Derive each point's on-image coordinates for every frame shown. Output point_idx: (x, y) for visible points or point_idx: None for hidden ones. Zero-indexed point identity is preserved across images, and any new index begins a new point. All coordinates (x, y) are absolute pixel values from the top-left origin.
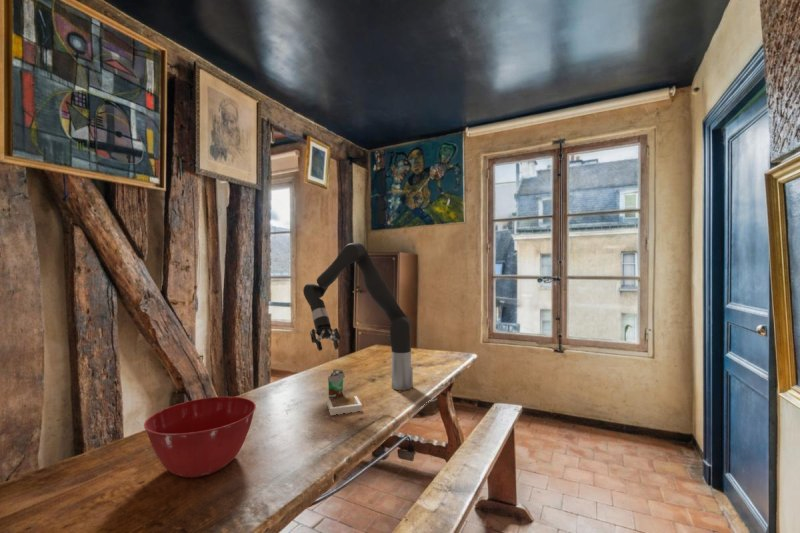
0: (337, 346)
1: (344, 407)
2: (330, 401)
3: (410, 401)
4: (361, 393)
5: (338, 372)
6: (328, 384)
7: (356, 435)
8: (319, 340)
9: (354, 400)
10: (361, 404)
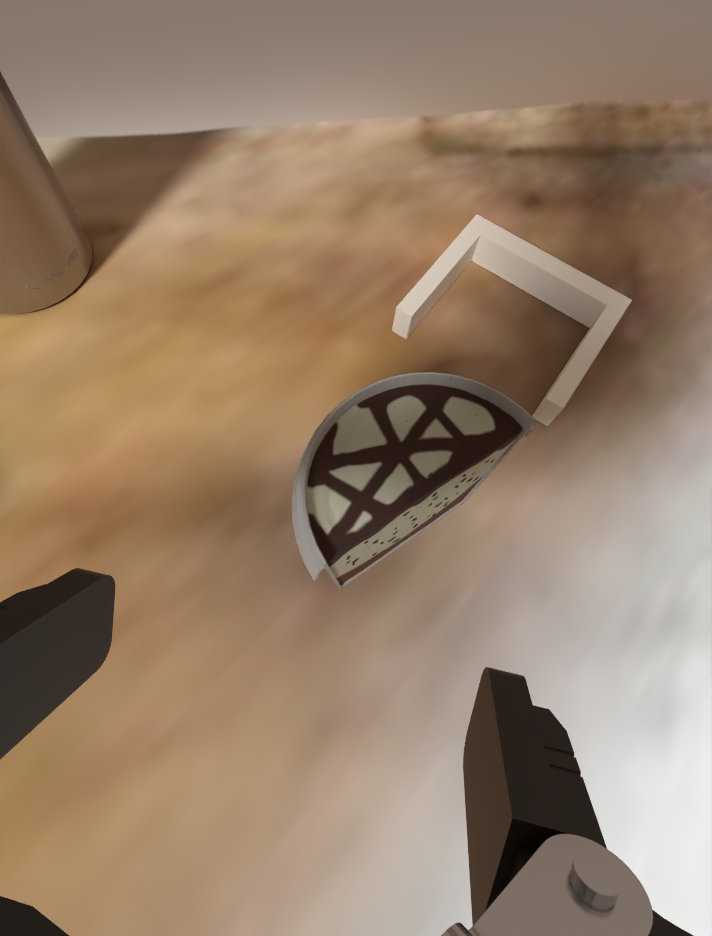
0: (81, 576)
1: (561, 262)
2: (566, 371)
3: (221, 139)
4: (256, 395)
5: (332, 485)
6: (506, 454)
7: (644, 140)
8: (566, 868)
9: (418, 317)
10: (474, 219)
